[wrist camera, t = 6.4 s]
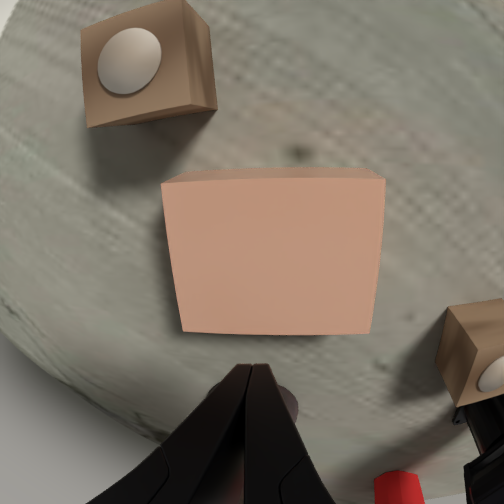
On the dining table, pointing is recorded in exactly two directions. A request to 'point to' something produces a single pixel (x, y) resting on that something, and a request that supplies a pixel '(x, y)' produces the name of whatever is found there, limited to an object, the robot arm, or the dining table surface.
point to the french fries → (398, 488)
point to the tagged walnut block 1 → (147, 65)
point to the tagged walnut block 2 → (473, 351)
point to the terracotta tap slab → (275, 249)
